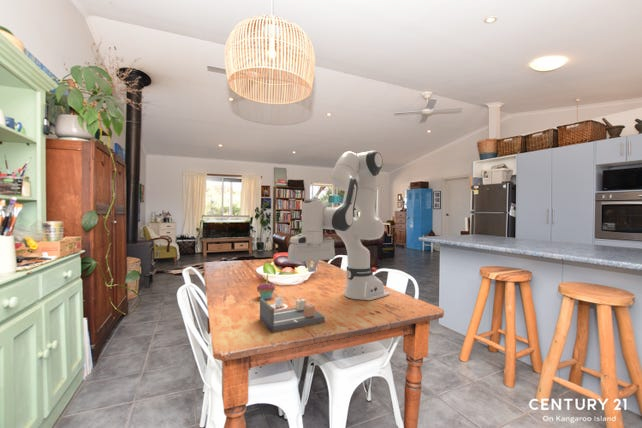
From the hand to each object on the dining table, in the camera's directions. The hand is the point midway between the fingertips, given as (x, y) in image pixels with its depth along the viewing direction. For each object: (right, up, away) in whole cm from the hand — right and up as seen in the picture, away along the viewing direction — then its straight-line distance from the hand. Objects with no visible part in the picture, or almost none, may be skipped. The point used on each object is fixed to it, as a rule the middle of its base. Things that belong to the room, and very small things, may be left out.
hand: (312, 271), depth 118 cm
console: (-7, -17, -8) cm, 20 cm away
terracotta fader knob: (-1, -15, -9) cm, 17 cm away
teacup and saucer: (-18, -18, +8) cm, 26 cm away
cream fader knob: (-4, -15, -2) cm, 15 cm away
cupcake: (-23, -17, +20) cm, 35 cm away
